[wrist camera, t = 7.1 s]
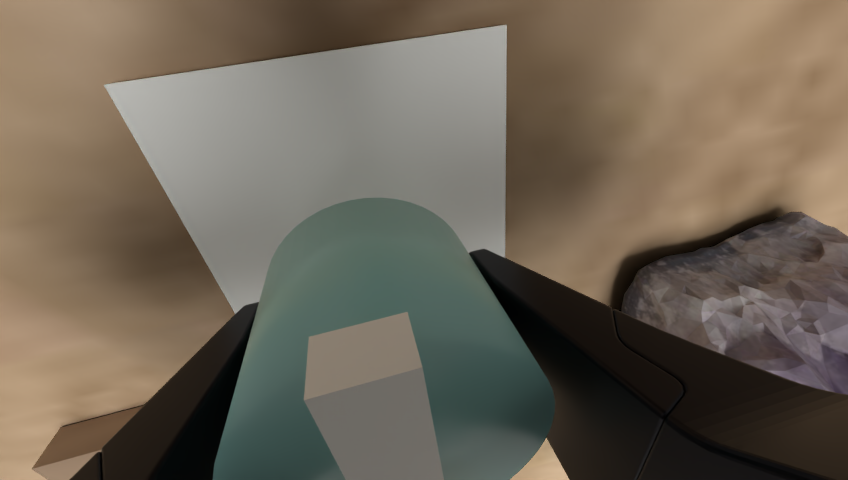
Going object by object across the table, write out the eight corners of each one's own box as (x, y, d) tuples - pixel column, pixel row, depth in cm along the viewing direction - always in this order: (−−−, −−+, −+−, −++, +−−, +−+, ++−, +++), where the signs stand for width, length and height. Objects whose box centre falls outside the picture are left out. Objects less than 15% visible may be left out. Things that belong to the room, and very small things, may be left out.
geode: (665, 431, 27) (791, 615, 19) (525, 440, 26) (593, 642, 17) (855, 199, 16) (1356, 388, 8) (630, 193, 15) (943, 413, 7)
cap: (220, 207, 6) (45, 471, 3) (461, 158, 7) (621, 312, 3) (308, 386, 9) (291, 635, 6) (472, 341, 10) (562, 537, 6)
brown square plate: (60, 427, 13) (8, 501, 11) (274, 371, 14) (264, 429, 12) (168, 513, 17) (146, 579, 15) (326, 465, 18) (326, 520, 16)
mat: (113, 83, 8) (103, 84, 8) (500, 25, 10) (506, 24, 9) (265, 355, 14) (263, 363, 13) (500, 294, 15) (505, 300, 14)
